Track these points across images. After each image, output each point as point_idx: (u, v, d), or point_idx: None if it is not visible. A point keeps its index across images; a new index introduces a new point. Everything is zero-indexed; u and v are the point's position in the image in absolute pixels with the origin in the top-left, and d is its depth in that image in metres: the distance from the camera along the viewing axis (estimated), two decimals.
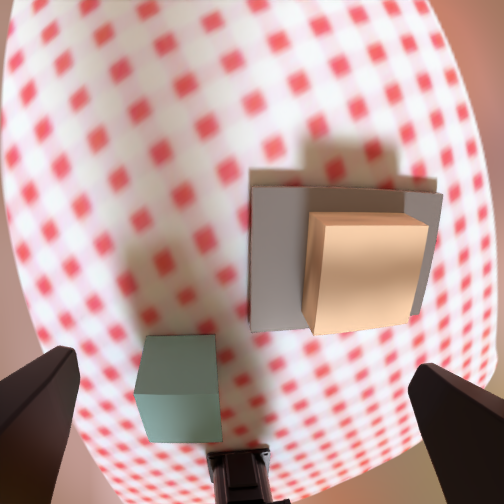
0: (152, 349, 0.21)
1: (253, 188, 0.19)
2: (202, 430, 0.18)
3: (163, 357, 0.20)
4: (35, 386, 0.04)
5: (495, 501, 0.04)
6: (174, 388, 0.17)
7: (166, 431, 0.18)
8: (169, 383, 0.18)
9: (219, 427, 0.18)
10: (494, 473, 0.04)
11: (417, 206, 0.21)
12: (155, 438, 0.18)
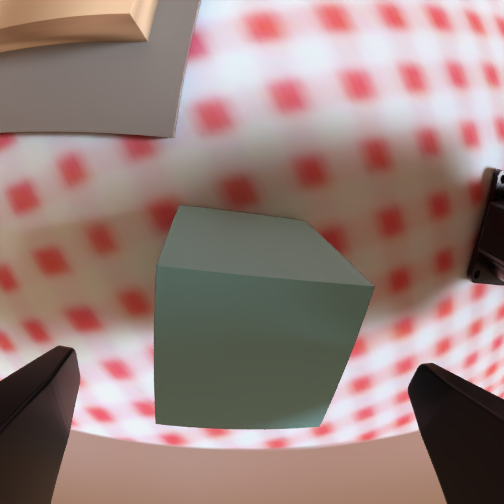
0: None
1: None
2: (307, 328, 0.08)
3: None
4: (35, 386, 0.04)
5: (495, 501, 0.04)
6: None
7: (288, 397, 0.08)
8: None
9: (308, 286, 0.07)
10: (494, 474, 0.04)
11: None
12: (308, 417, 0.09)
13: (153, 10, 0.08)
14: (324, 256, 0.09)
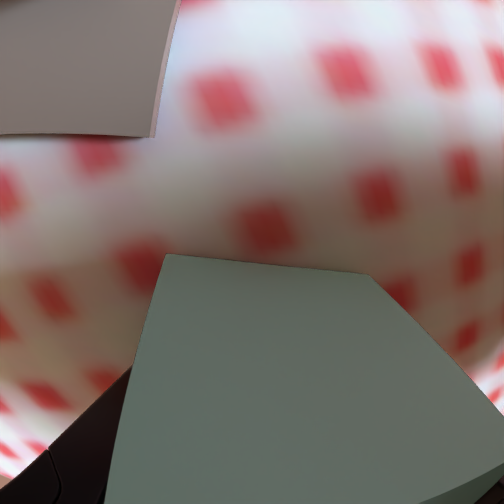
0: None
1: None
2: None
3: None
4: None
5: None
6: None
7: None
8: None
9: (446, 495, 0.02)
10: None
11: None
12: None
13: None
14: (441, 380, 0.04)
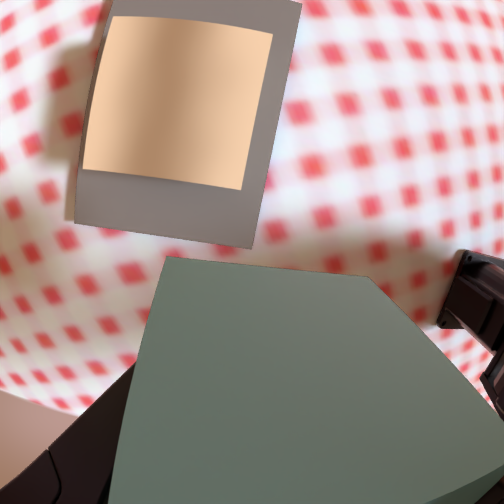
0: None
1: (75, 222, 0.16)
2: None
3: None
4: None
5: None
6: None
7: None
8: None
9: (443, 498, 0.02)
10: None
11: None
12: None
13: None
14: (439, 383, 0.04)
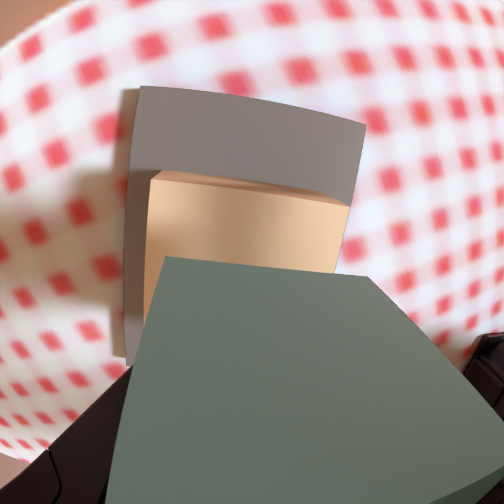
0: None
1: (127, 364, 0.16)
2: None
3: None
4: None
5: None
6: None
7: None
8: None
9: (443, 499, 0.02)
10: None
11: (155, 143, 0.12)
12: None
13: None
14: (439, 384, 0.04)
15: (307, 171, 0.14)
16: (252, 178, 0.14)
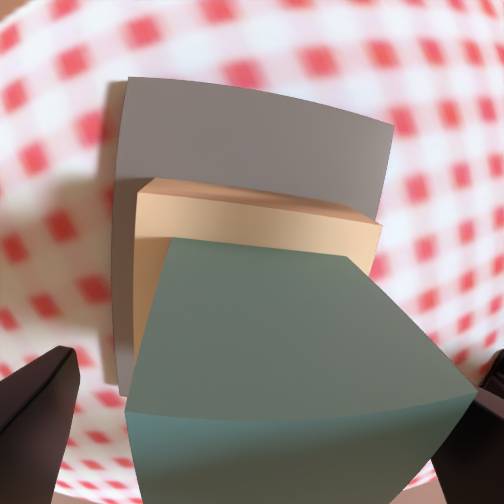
0: None
1: (121, 394, 0.14)
2: (378, 459, 0.04)
3: None
4: (35, 386, 0.04)
5: (495, 501, 0.04)
6: None
7: None
8: None
9: (395, 415, 0.04)
10: (494, 474, 0.04)
11: (146, 145, 0.10)
12: None
13: None
14: (398, 334, 0.05)
15: (327, 179, 0.12)
16: (263, 188, 0.11)
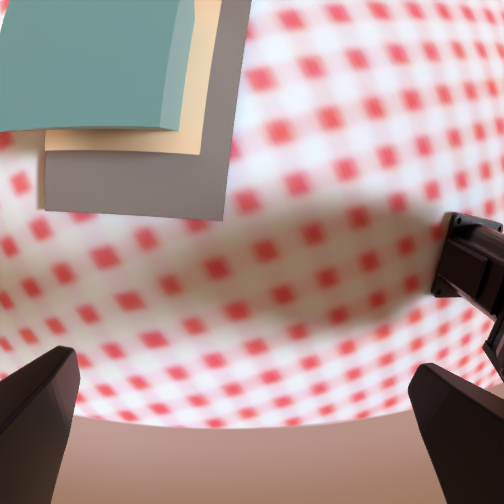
0: None
1: (46, 209, 0.15)
2: None
3: None
4: (35, 386, 0.04)
5: (495, 501, 0.04)
6: None
7: (109, 66, 0.06)
8: None
9: None
10: (494, 473, 0.04)
11: None
12: (139, 104, 0.06)
13: None
14: None
15: None
16: None
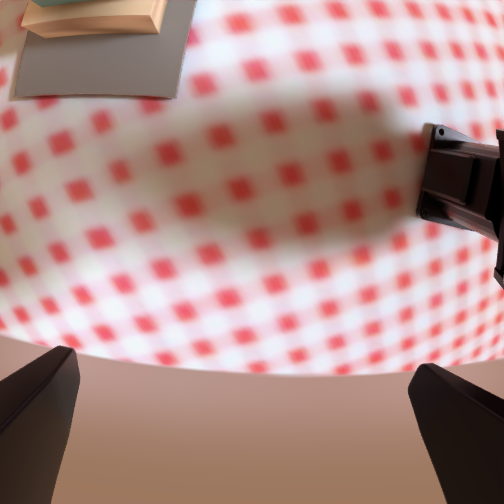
0: None
1: (15, 95, 0.13)
2: None
3: None
4: (35, 386, 0.04)
5: (495, 501, 0.04)
6: None
7: None
8: None
9: None
10: (494, 473, 0.04)
11: None
12: None
13: (163, 13, 0.13)
14: None
15: None
16: None
